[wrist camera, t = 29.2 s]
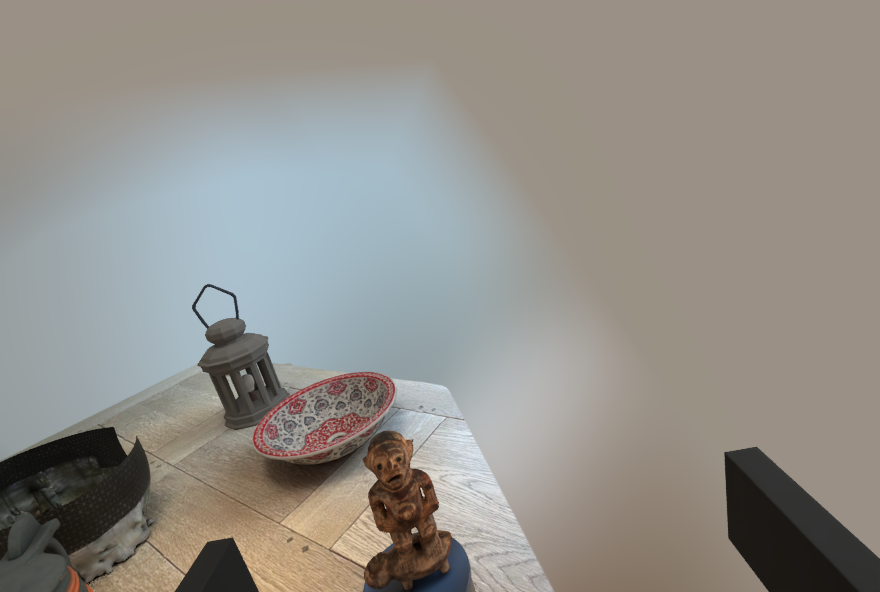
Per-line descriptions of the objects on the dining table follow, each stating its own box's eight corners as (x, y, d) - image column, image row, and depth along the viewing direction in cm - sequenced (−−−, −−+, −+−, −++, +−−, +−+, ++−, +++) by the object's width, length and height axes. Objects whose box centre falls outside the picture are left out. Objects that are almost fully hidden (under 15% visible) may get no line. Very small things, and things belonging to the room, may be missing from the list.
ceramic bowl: (385, 387, 104) (377, 359, 102) (426, 446, 77) (415, 409, 75) (266, 436, 95) (254, 406, 93) (266, 522, 68) (248, 483, 66)
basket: (157, 460, 96) (126, 400, 92) (182, 538, 69) (140, 458, 65) (-10, 547, 80) (-58, 478, 75) (-60, 692, 53) (-139, 600, 48)
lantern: (286, 385, 119) (242, 270, 110) (295, 408, 105) (244, 277, 95) (225, 411, 113) (172, 291, 103) (224, 439, 98) (162, 302, 88)
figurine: (366, 601, 38) (315, 468, 34) (403, 540, 44) (363, 419, 39) (430, 624, 35) (382, 480, 31) (461, 555, 40) (424, 424, 36)
